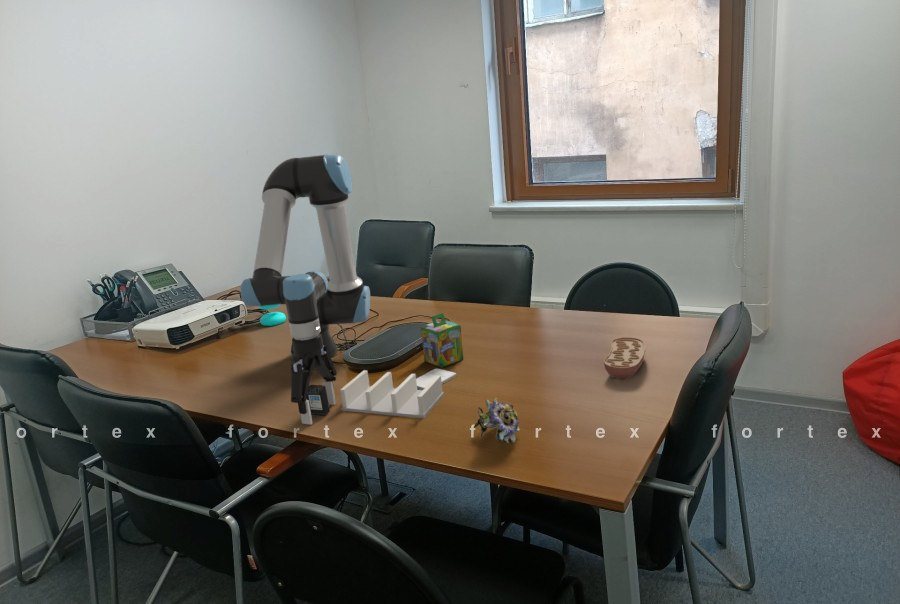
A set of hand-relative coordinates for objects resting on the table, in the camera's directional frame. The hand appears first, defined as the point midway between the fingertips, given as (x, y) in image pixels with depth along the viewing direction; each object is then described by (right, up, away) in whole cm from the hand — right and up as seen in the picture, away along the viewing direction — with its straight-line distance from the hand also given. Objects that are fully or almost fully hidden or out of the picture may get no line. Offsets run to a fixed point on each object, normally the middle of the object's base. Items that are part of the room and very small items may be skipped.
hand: (319, 413), depth 168 cm
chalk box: (+33, +11, +28) cm, 45 cm away
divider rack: (+19, +2, +3) cm, 20 cm away
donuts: (-35, +21, +83) cm, 93 cm away
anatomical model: (+84, +11, +11) cm, 86 cm away
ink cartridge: (0, 0, 0) cm, 0 cm away
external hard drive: (+30, +6, +14) cm, 33 cm away
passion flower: (+46, -2, -21) cm, 50 cm away
